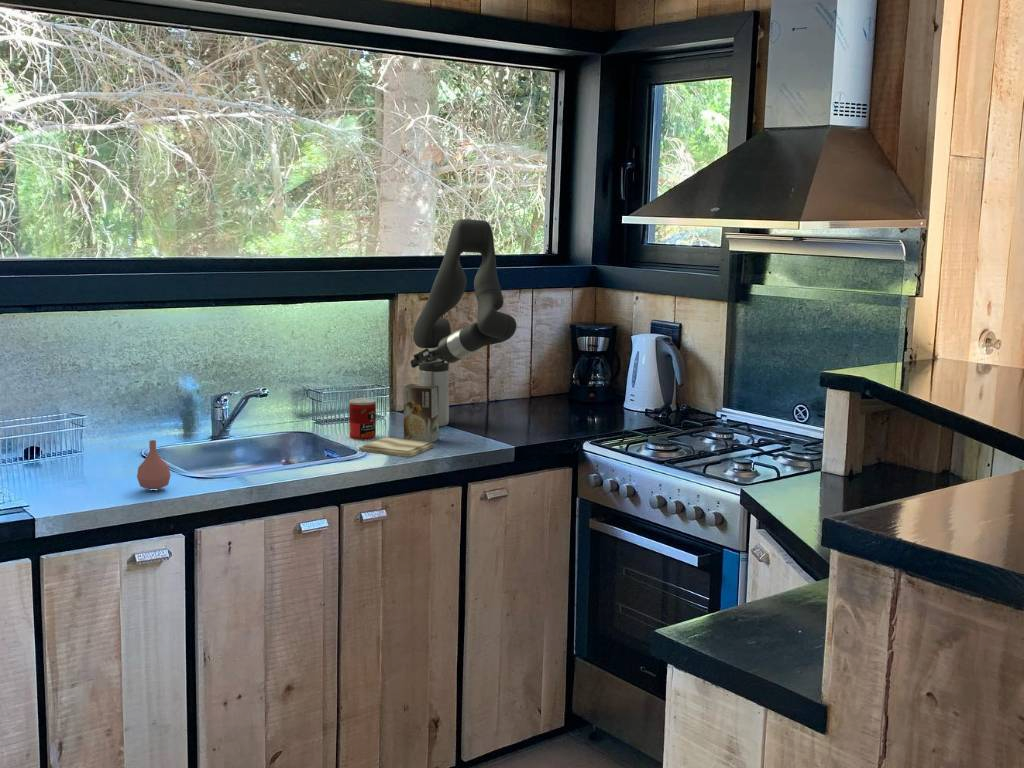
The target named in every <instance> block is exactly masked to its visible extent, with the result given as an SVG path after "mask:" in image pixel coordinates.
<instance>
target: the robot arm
mask: <svg viewBox="0 0 1024 768" xmlns="http://www.w3.org/2000/svg"><path fill="white" fill-rule="evenodd" d="M494 241H495V240H494V234H493V229H492V226H491V224H490V223H489V221H487V220H482V219H481V220H480V219H471V218H470V219H467V218H459V219H457V220H456V221H454V224H453V226H452V228H451V230H450V234H449V237H448V242H447V246H446V248H445V253H444V256H443V259H442V262H441V264H440V267H439V269H438V271H437V274H436V276H435V279H434V282H433V284H432V286H431V290H430V293H429V296H428V298H427V299H426V300H427V301H426V303H425V305H424V306H423V309H422V310H421V313H420V314H419V316H418V318H417V320H416V321H415V325H414V328H413V332H412V333H413V334H412V336H413V338H412V339H413V342H414V344H415V346H416V347H418V348H420V349H422V350H421V351H418V352H417V353H415V354H413V359H411V360H410V366H411V368H412V369H414V368H418V384H421V385H435V386H438V388H439V389H438V392H439V427H445V426H447V425H448V424H449V422H450V421H449V420H450V393H449V374H450V373H449V366H450V365H449V364H454V363H457V362H459V361H460V360H462V359H464V358H466V357H468V356H470V355H472V354H473V353H474V352H477V351H478V350H480V349H481V348H483V347H487V346H492V345H496V344H500V343H504V342H506V341H508V340H510V339H511V338H512V337H513V336H514V334H515V333H516V331H517V326H518V324H517V321H516V319H515V318H514V317H513V316H512V315H510V314H507V313H505V312H501V311H499V310H500V309H501V308H503V306H504V297H503V293H502V287H501V285H500V282H499V278H498V277H499V276H498V271H497V260H496V250H495V243H494ZM462 253H474V254H479V253H480V255H481V257H482V258H481V259H482V261H481V263H480V266H479V268H478V269H477V272H476V275H475V277H474V280H473V289H474V293H475V297H476V300H477V316H476V317H477V320H476V322H473V323H471V324H469V325H467V326H464V327H463V328H460V329H458V330H456V331H454V332H452V328H451V324H450V321H449V320H448V319H447V318H445V317H444V318H443V316H444V315H446V314H447V313H448V312H450V311H451V310H452V309H454V308H455V307H456V306H457V305H458V304H459V303H460V301H461V299H462V297H463V294H464V293H465V291H466V288H467V283H468V281H467V276H466V273H465V270H464V268H463V267H462V264H461V260H460V257H461V255H462Z"/></svg>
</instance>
